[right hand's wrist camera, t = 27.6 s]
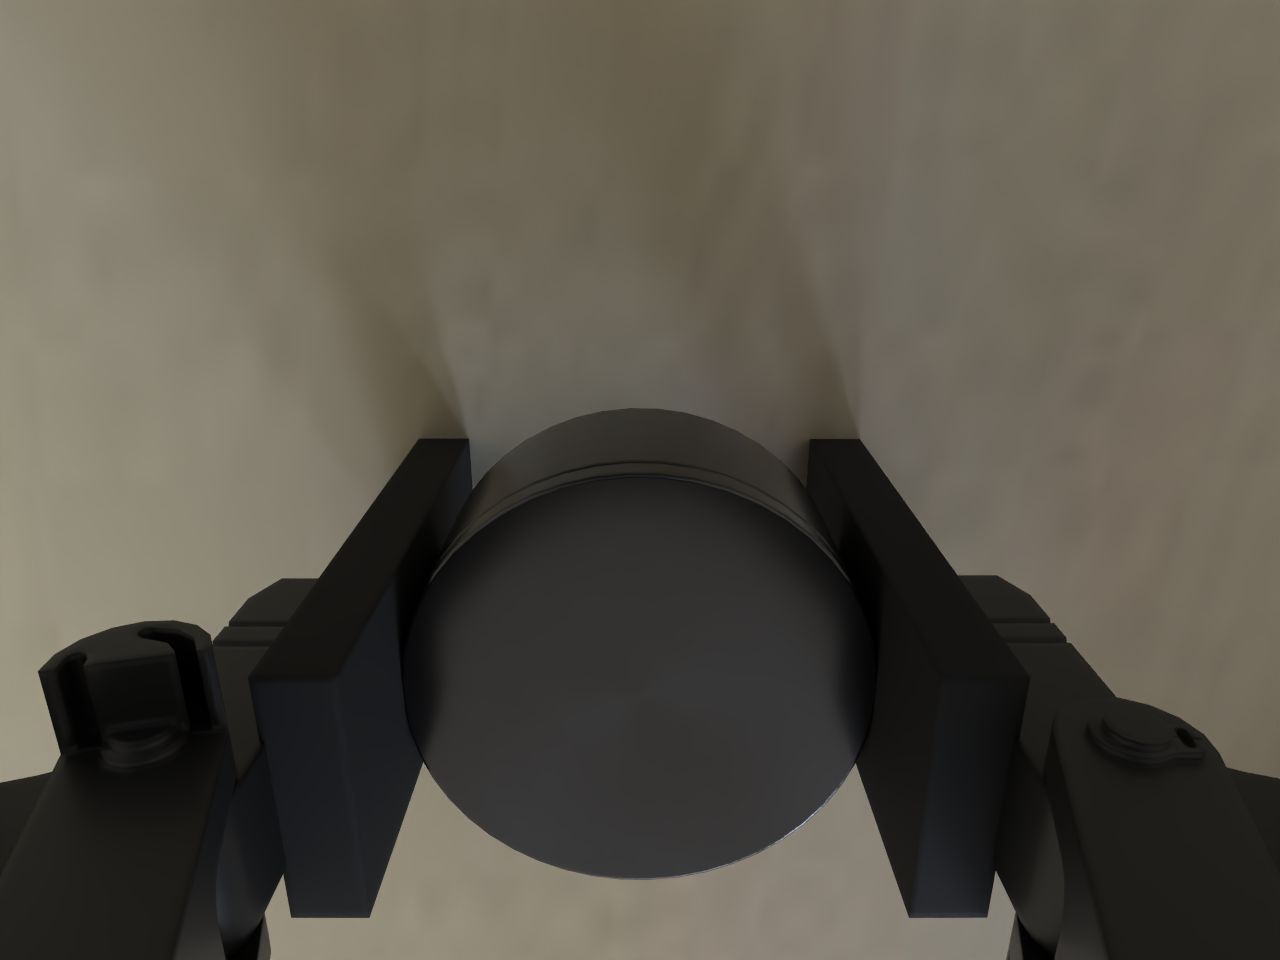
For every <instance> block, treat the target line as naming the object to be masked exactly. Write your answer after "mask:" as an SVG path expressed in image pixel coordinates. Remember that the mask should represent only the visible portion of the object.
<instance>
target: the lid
mask: <svg viewBox="0 0 1280 960" xmlns="http://www.w3.org/2000/svg"><path fill="white" fill-rule="evenodd" d="M877 672H878V657H877V652H876V646H875V640H874V635H873V630H872V627H871V624H870V622H869V619H868V616H867V613H866V610H865V607H864V604H863V602H862V600H861V598H860V596H859V594H858V592H857V590H856V587H855V585H854V583H853V581H852V579H851V577H850V575H849V573H848V570H847V568H846V566H845V564H844V562H843V560H842V558H841V556H840V553H839V551H838V549H837V547H836V545H835V543H834V541H833V539H832V536H831V534H830V532H829V530H828V528H827V526H826V524H825V522H824V520H823V518H822V516H821V514H820V512H819V510H818V508H817V506H816V504H815V502H814V500H813V499H812V497H811V496H810V495H809V493H808V492H807V490H806V489H805V488H804V486H803V485H802V483H801V482H800V481H799V479H798V478H797V477H796V476H795V475H794V474H793V473H792V472H791V471H790V470H789V469H788V468H787V467H786V466H785V465H784V464H783V463H782V462H781V461H780V460H779V459H778V458H777V457H775V456H774V455H773V454H772V453H770V452H769V451H768V450H766V449H765V448H764V447H763V446H761V445H760V444H758V443H757V442H755V441H753V440H752V439H750V438H748V437H747V436H745V435H743V434H741V433H740V432H738V431H736V430H734V429H731V428H729V427H727V426H724V425H722V424H720V423H717V422H715V421H713V420H709V419H706V418H702V417H698V416H695V415H691V414H688V413H683V412H676V411H669V410H662V409H640V408H628V409H619V410H610V411H601V412H597V413H593V414H589V415H585V416H580V417H576V418H573V419H571V420H568V421H565V422H563V423H560V424H557V425H555V426H552V427H549V428H548V429H546V430H544V431H542V432H540V433H538V434H536V435H535V436H533V437H531V438H529V439H527V440H525V441H524V442H523V443H521V444H520V445H519V446H517V447H516V448H514V449H513V450H512V451H510V452H509V453H507V454H506V455H505V456H504V457H503V458H502V459H500V460H499V461H498V462H497V463H496V464H495V465H494V466H493V467H492V468H491V469H490V470H489V471H488V472H487V473H486V474H485V475H484V477H483V478H482V479H481V480H480V482H479V483H478V484H477V485H476V487H475V488H474V489H473V490H472V492H471V493H470V495H469V496H468V498H467V500H466V502H465V503H464V505H463V507H462V508H461V510H460V512H459V514H458V516H457V518H456V520H455V522H454V524H453V526H452V528H451V531H450V533H449V535H448V537H447V539H446V541H445V543H444V546H443V548H442V550H441V552H440V554H439V556H438V558H437V560H436V563H435V565H434V567H433V569H432V571H431V573H430V575H429V578H428V580H427V582H426V584H425V586H424V588H423V590H422V592H421V595H420V597H419V599H418V602H417V604H416V607H415V609H414V612H413V614H412V617H411V619H410V622H409V625H408V629H407V634H406V638H405V643H404V647H403V654H402V669H401V678H402V688H403V697H404V706H405V713H406V717H407V721H408V725H409V730H410V732H411V735H412V737H413V740H414V742H415V745H416V747H417V750H418V752H419V755H420V756H421V758H422V760H423V762H424V763H425V765H426V767H427V769H428V770H429V772H430V774H431V775H432V777H433V779H434V780H435V781H436V783H437V784H438V785H439V786H440V788H441V789H442V790H443V792H444V793H445V794H446V795H447V797H448V798H449V799H450V800H451V801H452V802H453V803H454V804H455V805H456V806H457V807H458V808H459V809H460V810H461V811H462V812H463V813H464V814H465V815H466V816H467V817H468V818H469V819H470V820H471V821H473V822H474V823H475V824H477V825H478V826H479V827H480V828H482V829H483V830H484V831H486V832H487V833H488V834H489V835H491V836H493V837H494V838H496V839H498V840H499V841H501V842H502V843H504V844H506V845H507V846H509V847H511V848H512V849H514V850H516V851H519V852H521V853H523V854H525V855H527V856H529V857H532V858H534V859H536V860H538V861H541V862H544V863H547V864H550V865H553V866H556V867H559V868H561V869H564V870H568V871H573V872H577V873H582V874H586V875H591V876H597V877H606V878H614V879H634V880H652V879H664V878H675V877H682V876H687V875H692V874H698V873H703V872H707V871H710V870H714V869H717V868H720V867H724V866H727V865H730V864H733V863H736V862H738V861H740V860H743V859H745V858H748V857H750V856H752V855H755V854H757V853H759V852H761V851H763V850H764V849H766V848H768V847H770V846H772V845H773V844H775V843H777V842H779V841H781V840H782V839H784V838H785V837H787V836H788V835H789V834H791V833H792V832H793V831H795V830H796V829H798V828H799V827H800V826H802V825H803V824H805V823H806V822H807V821H808V820H809V819H810V818H811V817H812V816H813V815H814V814H815V813H816V812H818V811H819V810H820V809H821V808H822V807H823V806H824V805H825V804H826V803H827V802H828V800H829V799H830V798H831V797H832V796H833V794H834V793H835V792H836V791H837V790H838V788H839V787H840V786H841V785H842V783H843V782H844V780H845V779H846V777H847V776H848V774H849V772H850V771H851V769H852V768H853V766H854V765H855V763H856V761H857V759H858V757H859V754H860V752H861V750H862V748H863V746H864V744H865V741H866V739H867V736H868V733H869V729H870V726H871V722H872V719H873V711H874V702H875V693H876V683H877Z"/></svg>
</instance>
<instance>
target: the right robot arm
mask: <svg viewBox="0 0 1280 960" xmlns="http://www.w3.org/2000/svg"><path fill="white" fill-rule="evenodd" d="M471 492H472V476H471V462H470V448H469V439H419V440H418V441H417V442H416V444H415V445H414V447H413V448H412V449H411V451H410V452H409V454H408V455H407V456H406V458H405V459H404V461H403V462H402V463H401V465H400V466H399V467H398V469H397V470H396V472H395V473H394V474H393V476H392V477H391V479H390V480H389V481H388V483H387V484H386V486H385V487H384V488H383V490H382V491H381V493H380V494H379V495H378V497H377V498H376V499H375V501H374V502H373V504H372V505H371V506H370V508H369V509H368V511H367V512H366V513H365V515H364V516H363V518H362V519H361V520H360V522H359V523H358V525H357V526H356V527H355V529H354V530H353V531H352V533H351V534H350V536H349V537H348V538H347V540H346V541H345V543H344V544H343V545H342V547H341V548H340V550H339V551H338V552H337V554H336V555H335V557H334V558H333V559H332V561H331V562H330V563H329V565H328V566H327V568H326V569H325V570H324V572H323V573H322V575H321V576H320V577H319V579H291V578H282V579H280V580H279V581H277V582H275V583H274V584H272V585H270V586H269V587H267V588H265V589H264V590H262V591H260V592H259V593H257V594H255V595H254V596H252V597H250V598H249V599H248V600H247V601H246V602H245V603H244V605H243V606H242V607H241V608H240V609H239V610H238V612H237V613H236V614H235V615H234V616H233V618H232V619H231V620H230V621H229V627H224V628H223V630H222V631H221V632H220V633H219V634H218V636H217V637H216V638H215V639H214V640H213V645H212V641H211V636H210V634H209V633H207V632H206V631H204V630H203V629H202V628H200V627H199V626H198V625H194V624H189V623H184V622H179V621H174V620H172V621H144V622H139V623H134V624H129V625H124V626H119V627H114V628H111V629H108V630H105V631H102V632H100V633H97V634H94V635H91V636H89V637H86V638H83V639H80V640H79V641H77V642H75V643H74V644H72V645H70V646H68V647H67V648H65V649H63V650H61V651H60V652H58V653H56V654H55V655H54V656H53V657H52V658H51V659H50V660H49V661H48V662H47V663H46V664H45V665H44V666H43V667H42V668H41V669H40V670H39V671H38V673H39V677H40V681H41V684H42V688H43V691H44V695H45V699H46V702H47V706H48V709H49V713H50V717H51V720H52V724H53V727H54V731H55V735H56V738H57V742H58V745H59V749H60V753H61V755H60V757H59V759H58V761H57V763H56V765H55V767H54V769H53V771H52V772H49V773H45V774H41V775H38V776H33V777H27V778H22V779H17V780H12V781H7V782H2V783H0V960H270V955H271V948H270V941H269V934H268V928H267V923H266V918H265V913H264V912H265V910H266V908H267V906H268V904H269V902H270V900H271V898H272V896H273V894H274V892H275V890H276V887H277V885H278V883H279V881H280V879H281V877H282V875H284V880H285V886H286V891H287V897H288V902H289V908H290V913H291V918H369V917H370V915H371V912H372V909H373V906H374V903H375V900H376V897H377V894H378V891H379V888H380V886H381V883H382V880H383V877H384V874H385V871H386V868H387V865H388V862H389V860H390V857H391V854H392V851H393V848H394V845H395V842H396V839H397V836H398V833H399V831H400V828H401V825H402V822H403V819H404V816H405V813H406V810H407V807H408V805H409V802H410V799H411V796H412V793H413V790H414V787H415V784H416V781H417V779H418V776H419V773H420V770H421V767H422V764H423V760H422V758H421V756H420V755H419V752H418V750H417V747H416V745H415V742H414V740H413V737H412V735H411V732H410V730H409V725H408V721H407V717H406V713H405V706H404V697H403V688H402V678H401V669H402V654H403V647H404V643H405V638H406V634H407V629H408V625H409V622H410V619H411V617H412V614H413V612H414V609H415V607H416V604H417V602H418V599H419V597H420V595H421V592H422V590H423V588H424V586H425V584H426V582H427V580H428V578H429V575H430V573H431V571H432V569H433V567H434V565H435V563H436V560H437V558H438V556H439V554H440V552H441V550H442V548H443V546H444V543H445V541H446V539H447V537H448V535H449V533H450V531H451V528H452V526H453V524H454V522H455V520H456V518H457V516H458V514H459V512H460V510H461V508H462V507H463V505H464V503H465V502H466V500H467V498H468V496H469V495H470V493H471ZM807 492H808V493H809V495H810V496H811V497H812V499H813V500H814V502H815V504H816V506H817V508H818V510H819V512H820V514H821V516H822V518H823V520H824V522H825V524H826V526H827V528H828V530H829V532H830V534H831V536H832V539H833V541H834V543H835V545H836V547H837V549H838V551H839V553H840V556H841V558H842V560H843V562H844V564H845V566H846V568H847V570H848V573H849V575H850V577H851V579H852V581H853V583H854V585H855V587H856V590H857V592H858V594H859V596H860V598H861V600H862V602H863V604H864V607H865V610H866V613H867V616H868V619H869V622H870V624H871V627H872V630H873V635H874V640H875V646H876V652H877V657H878V672H877V683H876V693H875V702H874V711H873V719H872V722H871V726H870V729H869V733H868V736H867V739H866V741H865V744H864V746H863V748H862V750H861V752H860V754H859V757H858V759H857V761H856V765H857V768H858V771H859V774H860V777H861V780H862V783H863V785H864V788H865V791H866V794H867V797H868V800H869V803H870V806H871V809H872V812H873V814H874V817H875V820H876V823H877V826H878V829H879V832H880V835H881V838H882V841H883V843H884V846H885V849H886V852H887V855H888V858H889V861H890V864H891V867H892V870H893V872H894V875H895V878H896V881H897V884H898V887H899V890H900V893H901V896H902V899H903V901H904V904H905V907H906V910H907V913H908V916H909V918H987V916H988V910H989V904H990V899H991V893H992V888H993V882H994V877H995V871H996V872H997V874H998V876H999V878H1000V880H1001V882H1002V884H1003V886H1004V888H1005V890H1006V892H1007V894H1008V896H1009V898H1010V900H1011V903H1012V905H1013V907H1014V909H1015V911H1016V913H1015V918H1014V923H1013V928H1012V934H1011V939H1010V944H1009V949H1008V954H1007V959H1006V960H1280V779H1278V778H1273V777H1268V776H1263V775H1258V774H1253V773H1247V772H1242V771H1238V770H1234V769H1230V768H1227V767H1226V766H1225V764H1224V762H1223V760H1222V758H1221V756H1220V754H1219V752H1218V751H1217V750H1216V749H1215V747H1214V746H1213V745H1212V744H1211V742H1210V741H1209V740H1208V739H1207V738H1206V736H1205V735H1204V734H1202V733H1201V732H1200V731H1198V730H1197V729H1195V728H1194V727H1192V726H1191V725H1189V724H1188V723H1186V722H1185V721H1183V720H1182V719H1180V718H1179V717H1176V716H1174V715H1172V714H1169V713H1167V712H1165V711H1162V710H1160V709H1158V708H1155V707H1153V706H1151V705H1147V704H1143V703H1139V702H1134V701H1130V700H1126V699H1121V698H1117V697H1116V696H1115V695H1114V694H1113V693H1112V691H1111V690H1110V689H1109V688H1108V687H1107V685H1106V684H1105V683H1104V682H1103V681H1102V680H1101V678H1100V677H1099V676H1098V675H1097V674H1096V672H1095V671H1094V670H1093V669H1092V668H1091V667H1090V665H1089V664H1088V663H1087V662H1086V661H1085V659H1084V658H1083V657H1082V656H1081V655H1080V653H1079V652H1078V651H1077V650H1076V649H1075V648H1074V646H1073V645H1072V644H1071V643H1067V641H1066V637H1065V636H1064V634H1063V633H1062V632H1061V631H1060V630H1059V629H1058V627H1057V626H1056V625H1055V624H1054V623H1050V618H1049V617H1048V616H1047V614H1046V613H1045V612H1044V611H1043V610H1042V608H1041V607H1040V606H1039V605H1038V604H1037V602H1036V601H1035V600H1034V599H1033V598H1032V597H1031V595H1029V594H1027V593H1026V592H1024V591H1022V590H1021V589H1019V588H1017V587H1016V586H1014V585H1012V584H1011V583H1009V582H1007V581H1006V580H1004V579H1002V578H1001V577H999V576H997V575H957V574H956V573H955V571H954V570H953V568H952V567H951V566H950V564H949V563H948V561H947V560H946V559H945V557H944V556H943V554H942V553H941V552H940V550H939V549H938V547H937V546H936V545H935V543H934V542H933V540H932V539H931V538H930V536H929V535H928V534H927V532H926V531H925V529H924V528H923V527H922V525H921V524H920V522H919V521H918V520H917V518H916V517H915V515H914V514H913V513H912V511H911V510H910V508H909V507H908V506H907V504H906V503H905V501H904V500H903V499H902V497H901V496H900V494H899V493H898V492H897V490H896V489H895V488H894V486H893V485H892V483H891V482H890V481H889V479H888V478H887V476H886V475H885V474H884V472H883V471H882V469H881V468H880V467H879V465H878V464H877V462H876V461H875V460H874V458H873V457H872V455H871V454H870V453H869V451H868V450H867V448H866V447H865V446H864V444H863V443H862V442H861V440H860V439H810V448H809V462H808V476H807Z"/></svg>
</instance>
